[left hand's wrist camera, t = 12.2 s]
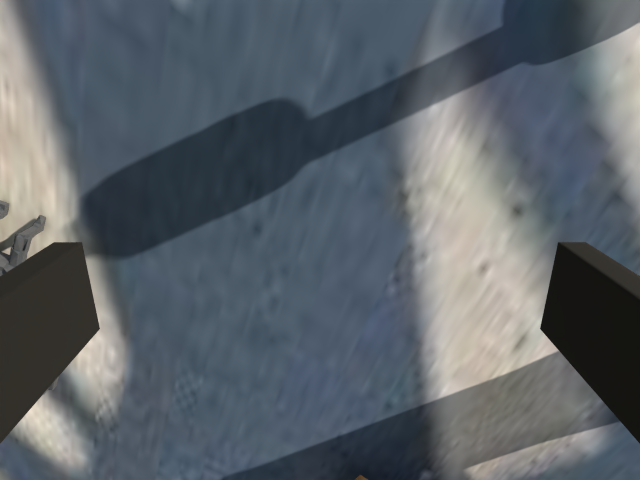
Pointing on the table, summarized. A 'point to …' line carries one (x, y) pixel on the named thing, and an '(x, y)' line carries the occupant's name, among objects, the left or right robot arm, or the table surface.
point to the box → (361, 478)
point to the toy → (20, 250)
